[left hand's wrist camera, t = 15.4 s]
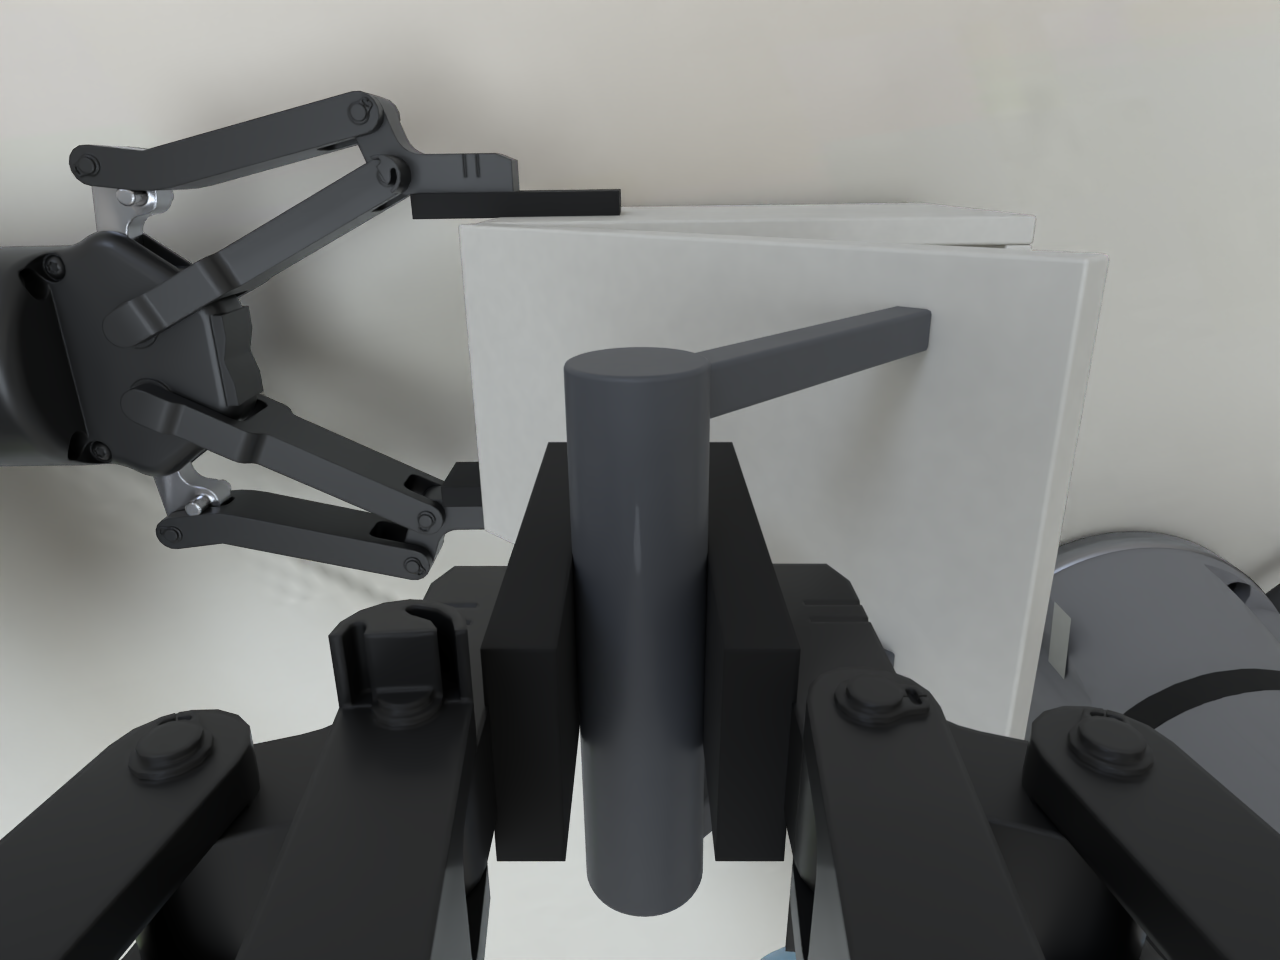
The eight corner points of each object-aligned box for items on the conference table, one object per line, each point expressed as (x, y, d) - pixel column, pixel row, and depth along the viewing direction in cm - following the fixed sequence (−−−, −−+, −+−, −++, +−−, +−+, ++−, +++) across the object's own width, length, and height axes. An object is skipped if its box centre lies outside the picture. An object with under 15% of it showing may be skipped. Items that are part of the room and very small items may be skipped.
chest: (923, 202, 33) (1038, 215, 23) (901, 421, 36) (994, 518, 26) (533, 207, 33) (476, 222, 23) (545, 423, 37) (499, 519, 26)
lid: (1112, 253, 12) (782, 326, 7) (1023, 751, 16) (747, 1075, 10) (487, 222, 23) (160, 242, 18) (509, 521, 26) (237, 618, 21)
